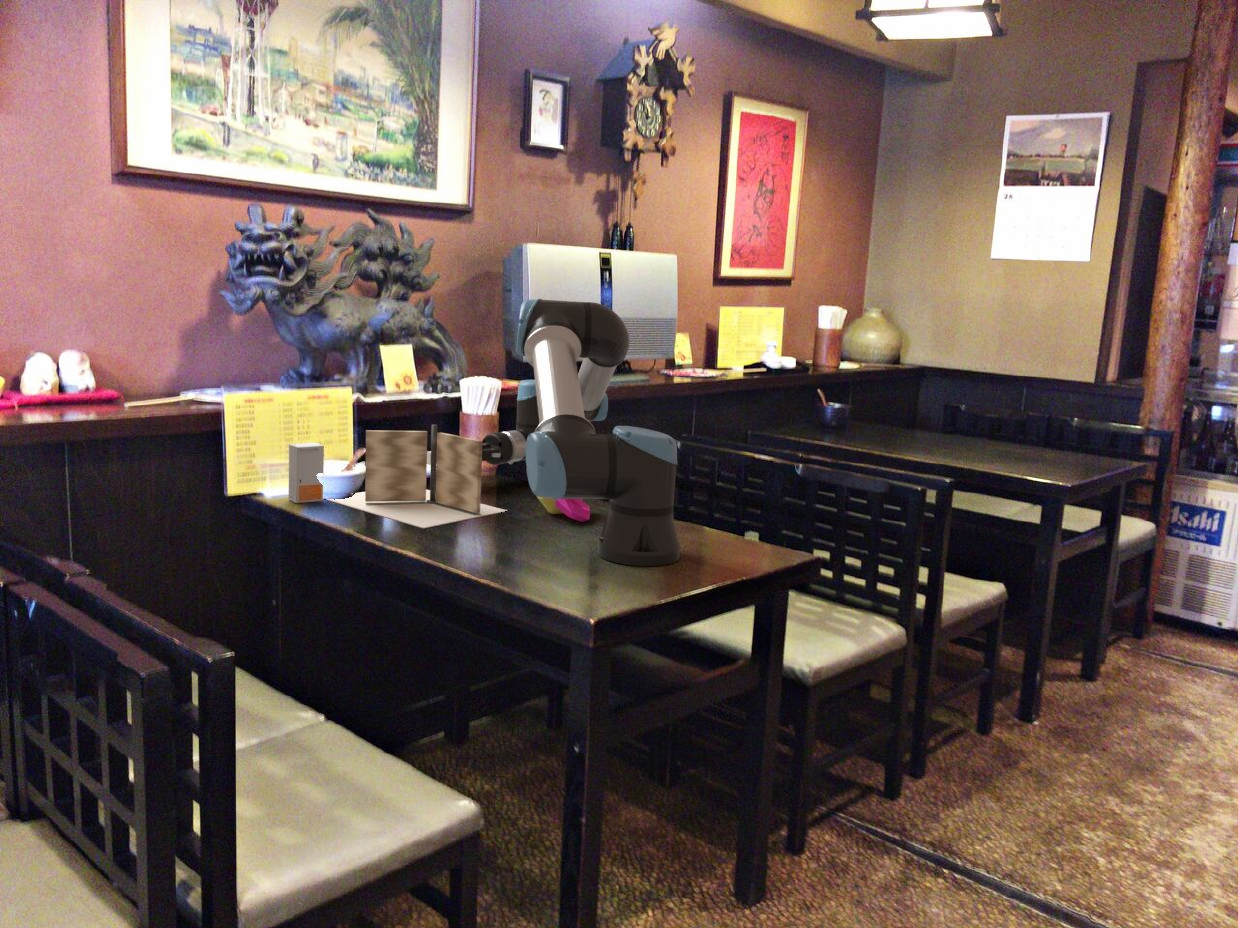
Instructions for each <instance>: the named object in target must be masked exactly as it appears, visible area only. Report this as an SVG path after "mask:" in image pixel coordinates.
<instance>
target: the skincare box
mask: <svg viewBox="0 0 1238 928" xmlns="http://www.w3.org/2000/svg"><path fill="white" fill-rule="evenodd" d="M324 453H325V446H324V445H322V444H320V443H318V442H304V443H303V442H302V443H291V444H289V445H288V500H289V501H291V502H293V503H294V504H301V503H303V504H304V503H314V502H323V501H324V499H323V498H324V484H323V485H322V484H321V483H320V482H319V480H318V479H317V476H316V475H317V474H318V473H323V474H324V466H325V465H324V463H325V462H324V460H325V459H324V458H325V457H324V456H325V454H324Z"/></svg>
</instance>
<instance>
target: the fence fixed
mask: <svg viewBox="0 0 1238 928" xmlns="http://www.w3.org/2000/svg"><path fill="white" fill-rule="evenodd" d="M430 437H431V438H430V442H431V443H430V451H431V465H430V480H429V487H430V489H429V490H430V500H427V503H440V504H444V505H447V506H451V507H455V508H459V509H462V510H466V511H470V512H474V513H480V503H481V498H482V497H481V492H482V466H483V465H482V464H483V463H482V462H483V461H482V441H483V440H480V439H475V438H471V437H465V436H460V435H456V434H451V433H445V432H438V424H431V435H430ZM436 462H437V464H436Z"/></svg>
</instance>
